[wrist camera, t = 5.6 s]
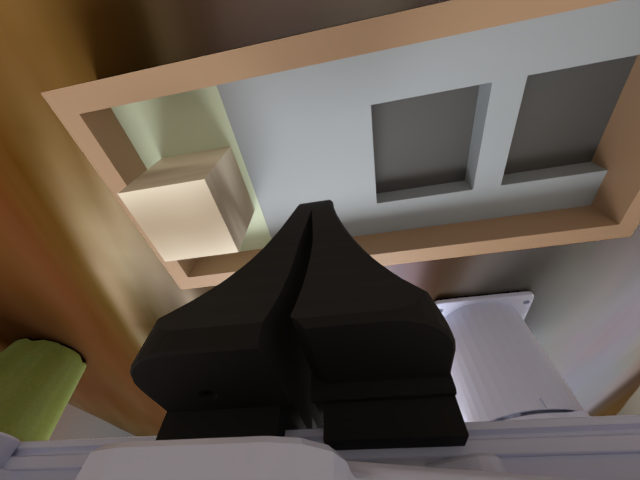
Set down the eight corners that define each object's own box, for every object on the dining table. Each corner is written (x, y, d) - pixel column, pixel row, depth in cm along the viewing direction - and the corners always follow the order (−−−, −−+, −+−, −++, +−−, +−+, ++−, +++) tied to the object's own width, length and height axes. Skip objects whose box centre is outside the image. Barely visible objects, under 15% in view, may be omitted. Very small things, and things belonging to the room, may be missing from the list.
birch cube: (254, 210, 17) (238, 252, 14) (194, 219, 17) (165, 261, 14) (230, 145, 14) (204, 179, 11) (161, 158, 15) (117, 193, 12)
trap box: (583, 204, 18) (630, 236, 15) (200, 255, 21) (181, 289, 18) (706, -58, 11) (837, -87, 8) (96, 80, 14) (40, 92, 11)
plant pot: (111, 342, 29) (17, 482, 20) (107, 387, 35) (34, 508, 27) (-26, 308, 26) (-212, 456, 17) (-4, 364, 32) (-130, 493, 23)
